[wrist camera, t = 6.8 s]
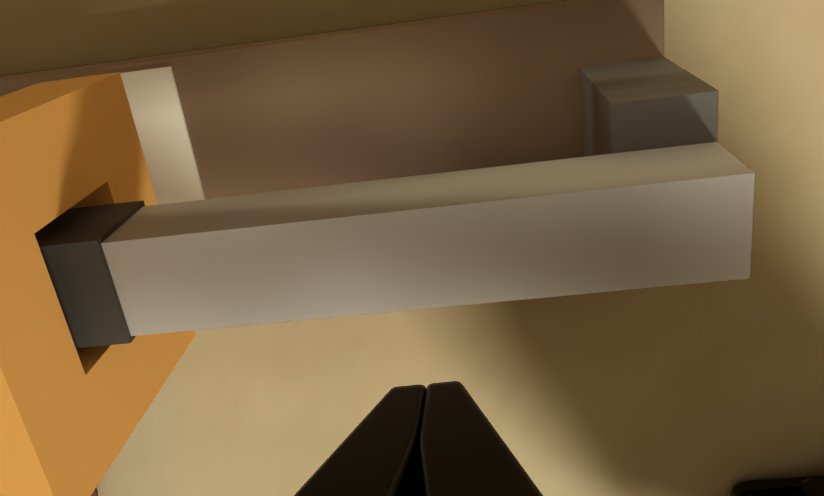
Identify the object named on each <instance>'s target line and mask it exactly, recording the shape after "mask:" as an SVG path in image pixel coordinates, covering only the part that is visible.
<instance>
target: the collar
mask: <svg viewBox="0 0 824 496" xmlns="http://www.w3.org/2000/svg"><path fill="white" fill-rule="evenodd" d="M143 200H144V204H145V206H151V205H158V203H157V200H156V196H155V193H154V189H153V186H152V182H151V179H150V175H149V172H148V168H147V165H146V161H145V158H144V154H143V151H142V147H141V144H140V140H139V137H138V133H137V130H136V126H135V123H134V119H133V116H132V112H131V109H130V105H129V102H128V98H127V95H126V91H125V88H124V84H123V81H122V77H121V74H120V72H116V73H108V74H101V75H93V76H86V77H78V78H71V79H63V80H56V81H48V82H41V83H37V84H34V85H31V86H29V87H26V88H23V89H20V90H18V91H15V92H12V93H9V94H7V95H4V96H1V97H0V496H91V495H92V493H93V492H94V490H95V488H96V487H97V485H98V484H99V482H100V481H101V479H102V478H103V476H104V475H105V473H106V472H107V470H108V468H109V467H110V465H111V464H112V462H113V461H114V459H115V458H116V456H117V455H118V453H119V452H120V450H121V448H122V447H123V445H124V444H125V442H126V441H127V439H128V438H129V436H130V435H131V433H132V432H133V430H134V428H135V427H136V425H137V424H138V422H139V421H140V419H141V418H142V416H143V415H144V413H145V411H146V410H147V408H148V407H149V405H150V404H151V402H152V401H153V399H154V398H155V396H156V395H157V393H158V391H159V390H160V388H161V387H162V385H163V384H164V382H165V381H166V379H167V378H168V376H169V375H170V373H171V371H172V370H173V368H174V367H175V365H176V364H177V362H178V361H179V359H180V358H181V356H182V355H183V353H184V351H185V350H186V348H187V347H188V345H189V344H190V342H191V341H192V339H193V338H194V336H195V332H194V330H192V331H182V332H171V333H160V334H149V335H139V336H136V337H135V338H134V339H133V341H132V342H131V343H127V344H116V345H105V346H95V347H84V348H76V347H75V345H74V342H73V339H72V336H71V334H70V331H69V328H68V325H67V323H66V320H65V317H64V314H63V312H62V309H61V306H60V303H59V300H58V298H57V295H56V292H55V289H54V287H53V284H52V281H51V278H50V276H49V273H48V270H47V267H46V265H45V262H44V259H43V256H42V254H41V251H40V248H39V245H38V242H37V240H36V237H35V234H34V233H36V232H37V231H39V230H40V229H41V228H43V227H44V226H46V225H47V224H48V223H50V222H51V221H53V220H54V219H55V218H57V217H58V216H60V215H61V214H62V213H64V212H65V211H67V210H68V209H72V208H81V207H90V206H99V205H107V204H116V203H125V202H134V201H143Z"/></svg>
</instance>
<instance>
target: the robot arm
mask: <svg viewBox="0 0 824 496" xmlns="http://www.w3.org/2000/svg"><path fill="white" fill-rule="evenodd" d="M294 496H543V495H542V494H541V492H540V491H539V490H538V488H537V487H536V485H535V484H534V483H533V481H532V480H531V479H530V477H529V476H528V474H527V473H526V472H525V470H524V469H523V468H522V466H521V465H520V463H519V462H518V461H517V459H516V458H515V456H514V455H513V454H512V452H511V451H510V450H509V448H508V447H507V445H506V444H505V443H504V441H503V440H502V439H501V437H500V436H499V434H498V433H497V432H496V430H495V429H494V427H493V426H492V425H491V423H490V422H489V421H488V419H487V418H486V416H485V415H484V414H483V412H482V411H481V410H480V408H479V407H478V405H477V404H476V403H475V401H474V400H473V399H472V397H471V396H470V394H469V393H468V392H467V390H466V389H465V387H464V386H463V385H462V384H461V383H460V382H458V381H453V382H442V383H432V384H430V385H429V386H428V387H427V389H426V387H425V386H423V385H411V386H400V387H394V388H392V389H391V390H390V391H389V392H388V393H387V394H386V395H385V396H384V398H383V399H382V400H381V401H380V402H379V403H378V404H377V405H376V406H375V407H374V409H373V410H372V411H371V412H370V413H369V414H368V415H367V416H366V417H365V418H364V419H363V421H362V422H361V423H360V424H359V425H358V426H357V427H356V428H355V429H354V430H353V432H352V433H351V434H350V435H349V436H348V437H347V438H346V439H345V440H344V441H343V442H342V444H341V445H340V446H339V447H338V448H337V449H336V450H335V451H334V452H333V453H332V455H331V456H330V457H329V458H328V459H327V460H326V461H325V462H324V463H323V464H322V465H321V467H320V468H319V469H318V470H317V471H316V472H315V473H314V474H313V475H312V476H311V478H310V479H309V480H308V481H307V482H306V483H305V484H304V485H303V486H302V487H301V489H300V490H299V491H298V492H297V493H296V494H295V495H294ZM730 496H824V476H812V477H797V478H781V479H766V480H751V481H744V482H740V483H738V484H737V485H735V486H734V487H733V489H732V491H731V494H730Z"/></svg>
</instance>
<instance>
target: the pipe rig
mask: <svg viewBox="0 0 824 496" xmlns="http://www.w3.org/2000/svg"><path fill="white" fill-rule="evenodd" d="M116 72H120V74H121V77H122V81H123V84H124V88H125V91H126V95H127V98H128V102H129V105H130V109H131V112H132V116H133V119H134V123H135V126H136V130H137V133H138V137H139V140H140V144H141V147H142V151H143V154H144V158H145V161H146V165H147V168H148V172H149V175H150V179H151V182H152V186H153V189H154V193H155V196H156V200H157V203H158V205H151V206H145V204H144V200H143V201H134V202H125V203H116V204H107V205H99V206H90V207H81V208H72V209H68V210H67V211H65V212H64V213H62V214H61V215H60V216H58V217H57V218H55V219H54V220H53V221H51V222H50V223H48V224H47V225H46V226H44V227H43V228H41V229H40V230H39V231H37V232H36V233H34V234H35V237H36V240H37V242H38V245H39V248H40V251H41V254H42V256H43V259H44V262H45V265H46V267H47V270H48V273H49V276H50V278H51V281H52V284H53V287H54V289H55V292H56V295H57V298H58V300H59V303H60V306H61V309H62V312H63V314H64V317H65V320H66V323H67V325H68V328H69V331H70V334H71V336H72V339H73V342H74V345H75V347H76V348H84V347H95V346H105V345H116V344H127V343H131V342H132V341H133V339H134V338H135V337H136V336H139V335H149V334H160V333H171V332H182V331H192V330H203V329H214V328H225V327H235V326H246V325H257V324H268V323H278V322H289V321H300V320H310V319H321V318H332V317H343V316H353V315H364V314H375V313H386V312H396V311H407V310H418V309H429V308H439V307H450V306H461V305H472V304H482V303H493V302H504V301H514V300H525V299H536V298H547V297H557V296H568V295H579V294H590V293H600V292H611V291H622V290H633V289H643V288H654V287H665V286H676V285H686V284H697V283H708V282H718V281H729V280H740V279H750V267H751V247H752V226H753V205H754V184H755V172H753V171H752V170H751V169H750V168H748V167H747V166H746V165H745V164H744V163H742V162H741V161H740V160H739V159H737V158H736V157H735V156H734V155H733V154H731V153H730V152H729V151H728V150H726V149H725V148H724V147H723V146H722V145H720V144H719V143H718V142H717V122H718V90H716V89H715V88H713V87H712V86H710V85H708V84H707V83H705V82H703V81H702V80H700V79H699V78H697V77H695V76H694V75H692V74H690V73H689V72H687V71H686V70H684V69H682V68H681V67H679V66H677V65H676V64H674V63H673V62H671V61H669V60H668V59H666V58H665V57H664V0H564V1H557V2H549V3H542V4H534V5H527V6H520V7H512V8H505V9H497V10H490V11H483V12H475V13H468V14H460V15H453V16H446V17H438V18H431V19H423V20H416V21H409V22H401V23H394V24H386V25H379V26H372V27H364V28H357V29H349V30H342V31H335V32H327V33H320V34H312V35H305V36H298V37H290V38H283V39H275V40H268V41H261V42H253V43H246V44H238V45H231V46H224V47H216V48H209V49H201V50H194V51H187V52H179V53H172V54H164V55H157V56H150V57H142V58H135V59H127V60H120V61H113V62H105V63H98V64H90V65H83V66H76V67H68V68H61V69H53V70H46V71H39V72H31V73H24V74H16V75H9V76H2V77H0V97H1V96H4V95H7V94H9V93H12V92H15V91H18V90H20V89H23V88H26V87H29V86H31V85H34V84H37V83H41V82H48V81H56V80H63V79H71V78H78V77H86V76H93V75H101V74H108V73H116Z"/></svg>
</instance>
